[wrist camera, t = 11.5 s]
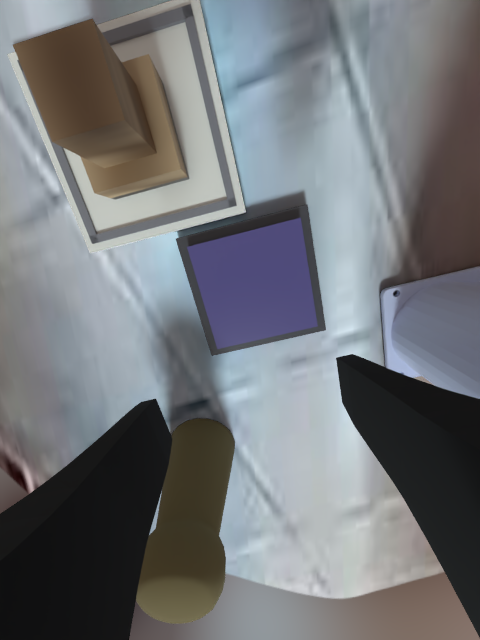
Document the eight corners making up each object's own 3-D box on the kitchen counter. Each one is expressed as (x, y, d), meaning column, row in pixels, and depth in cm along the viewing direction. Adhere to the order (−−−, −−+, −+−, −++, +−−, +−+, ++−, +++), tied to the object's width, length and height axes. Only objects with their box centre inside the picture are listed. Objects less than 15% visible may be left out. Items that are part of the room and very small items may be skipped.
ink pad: (304, 205, 17) (309, 203, 16) (322, 326, 20) (328, 332, 19) (178, 238, 18) (173, 238, 17) (212, 351, 21) (210, 359, 19)
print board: (199, 4, 14) (197, -12, 13) (245, 213, 17) (246, 211, 16) (19, 63, 15) (4, 51, 14) (96, 252, 18) (88, 253, 17)
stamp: (163, 83, 15) (107, -30, 8) (189, 179, 16) (158, 142, 10) (82, 108, 15) (-29, 16, 9) (115, 199, 16) (40, 176, 10)
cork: (163, 421, 23) (100, 578, 12) (230, 414, 23) (223, 567, 12) (177, 472, 25) (131, 646, 14) (238, 466, 24) (238, 638, 14)
